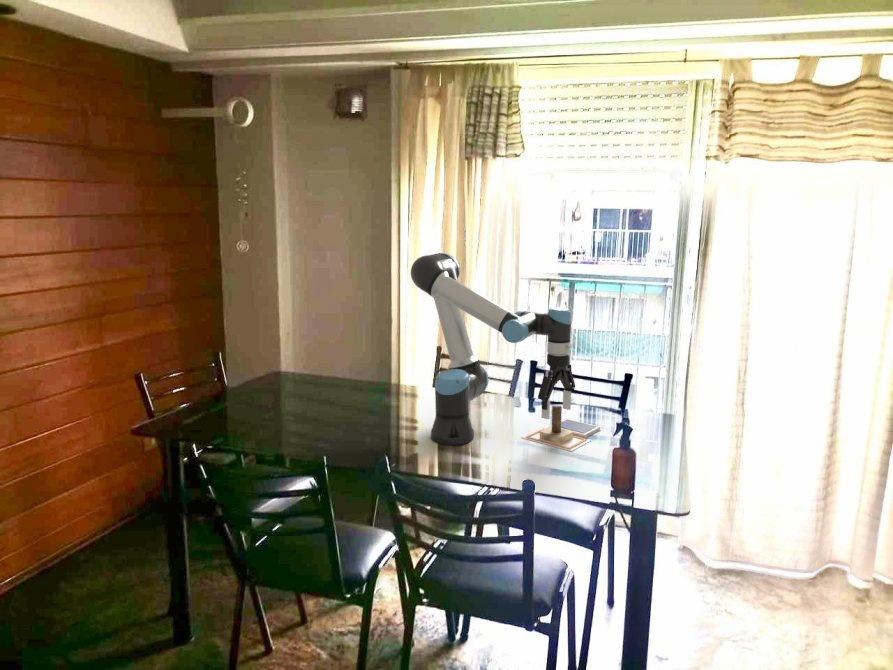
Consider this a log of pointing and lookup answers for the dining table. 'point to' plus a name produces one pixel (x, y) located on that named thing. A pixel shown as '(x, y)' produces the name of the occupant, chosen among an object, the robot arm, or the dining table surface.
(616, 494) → the dining table surface
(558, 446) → the marked sheet
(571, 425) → the ink pad
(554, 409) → the stamp
